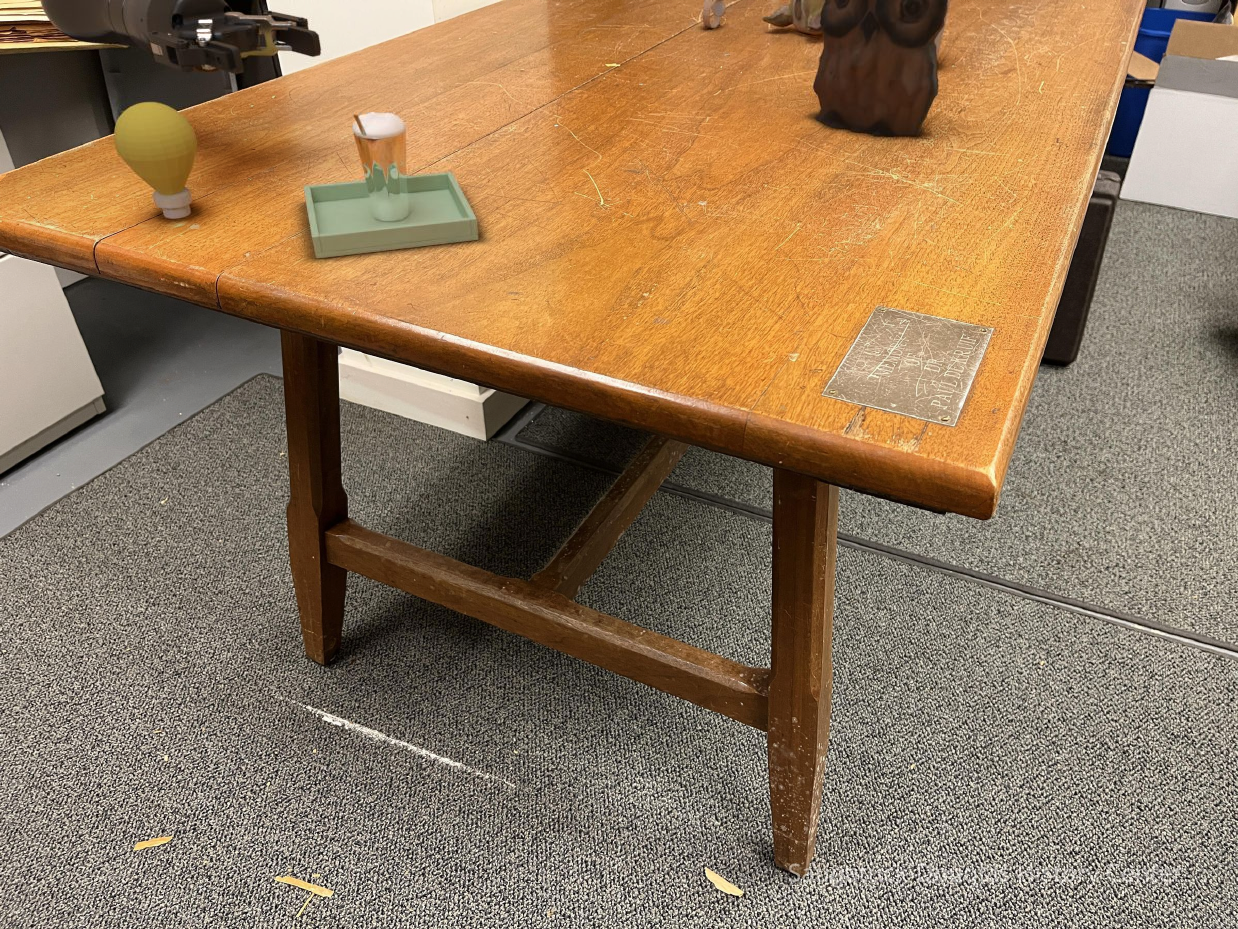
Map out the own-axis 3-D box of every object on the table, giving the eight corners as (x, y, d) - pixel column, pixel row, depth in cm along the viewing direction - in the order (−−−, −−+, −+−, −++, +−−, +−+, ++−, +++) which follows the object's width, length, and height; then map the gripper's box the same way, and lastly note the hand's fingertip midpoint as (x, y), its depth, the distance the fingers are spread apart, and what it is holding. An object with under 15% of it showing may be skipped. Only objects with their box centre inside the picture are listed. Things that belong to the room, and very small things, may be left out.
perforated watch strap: (724, 25, 151) (727, -8, 148) (711, 31, 147) (714, -3, 144) (710, 23, 152) (712, -10, 149) (697, 28, 148) (699, -5, 145)
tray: (316, 258, 78) (311, 236, 77) (307, 205, 87) (303, 185, 86) (478, 239, 82) (477, 218, 80) (453, 191, 91) (451, 171, 89)
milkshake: (351, 223, 83) (332, 110, 77) (384, 202, 87) (368, 94, 81) (393, 231, 81) (377, 118, 75) (425, 210, 85) (412, 101, 79)
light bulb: (122, 220, 83) (85, 108, 77) (175, 195, 88) (144, 88, 82) (179, 232, 81) (146, 119, 75) (230, 206, 86) (203, 98, 80)
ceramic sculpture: (874, -29, 144) (816, -12, 136) (866, 29, 149) (810, 49, 142) (821, -38, 150) (761, -22, 142) (815, 18, 155) (758, 37, 148)
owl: (931, 138, 107) (976, -55, 94) (828, 141, 105) (860, -55, 93) (892, 106, 116) (927, -73, 104) (797, 108, 115) (822, -73, 103)
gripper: (100, -6, 85) (199, 20, 77) (234, -25, 94) (334, -3, 86) (125, 78, 90) (221, 111, 82) (250, 52, 99) (346, 79, 91)
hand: (279, 52), depth 84 cm, fingers open, 8 cm apart
